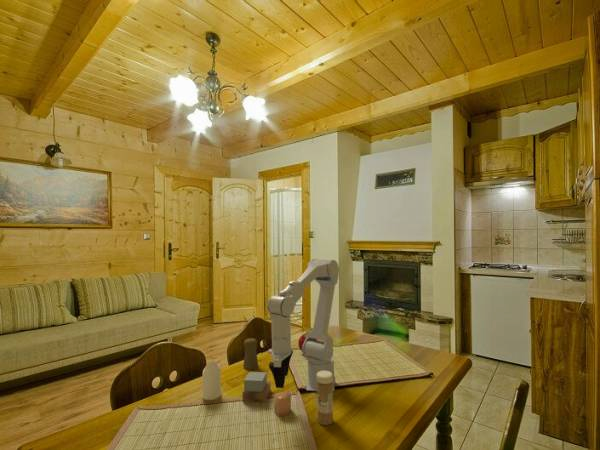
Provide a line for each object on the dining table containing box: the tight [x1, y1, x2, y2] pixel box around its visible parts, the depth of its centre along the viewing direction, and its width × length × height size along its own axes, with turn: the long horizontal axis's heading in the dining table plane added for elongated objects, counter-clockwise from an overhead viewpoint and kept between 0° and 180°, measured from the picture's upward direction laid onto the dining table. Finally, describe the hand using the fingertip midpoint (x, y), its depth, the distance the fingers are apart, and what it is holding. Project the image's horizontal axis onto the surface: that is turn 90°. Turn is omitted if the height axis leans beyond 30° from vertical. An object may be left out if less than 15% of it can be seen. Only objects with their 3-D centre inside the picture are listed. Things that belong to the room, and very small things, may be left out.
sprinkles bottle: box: [316, 371, 334, 426], centre depth 89 cm, size 5×5×13 cm
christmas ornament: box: [297, 330, 318, 353], centre depth 139 cm, size 9×9×10 cm
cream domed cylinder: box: [201, 360, 222, 401], centre depth 104 cm, size 6×12×6 cm
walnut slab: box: [242, 380, 271, 403], centre depth 104 cm, size 8×8×4 cm
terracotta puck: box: [273, 391, 292, 417], centre depth 94 cm, size 5×5×4 cm
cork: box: [242, 337, 259, 371], centre depth 126 cm, size 6×6×11 cm
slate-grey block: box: [243, 371, 268, 392], centre depth 103 cm, size 6×6×4 cm
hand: (282, 381), depth 95 cm, fingers open, 7 cm apart
